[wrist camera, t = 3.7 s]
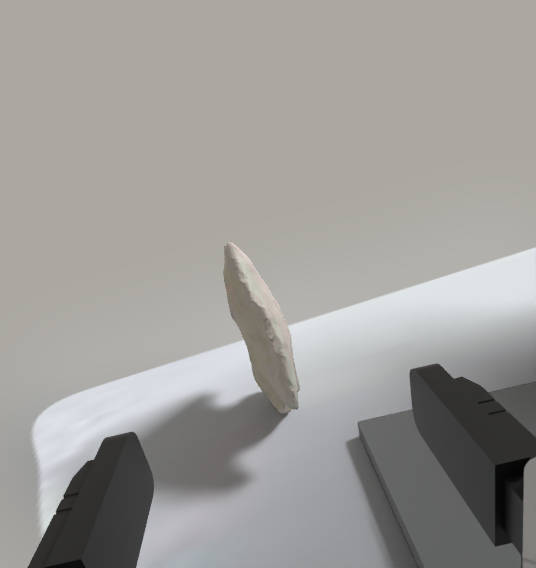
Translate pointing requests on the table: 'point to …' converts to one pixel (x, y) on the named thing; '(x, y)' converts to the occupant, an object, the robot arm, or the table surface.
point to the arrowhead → (261, 330)
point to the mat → (437, 489)
